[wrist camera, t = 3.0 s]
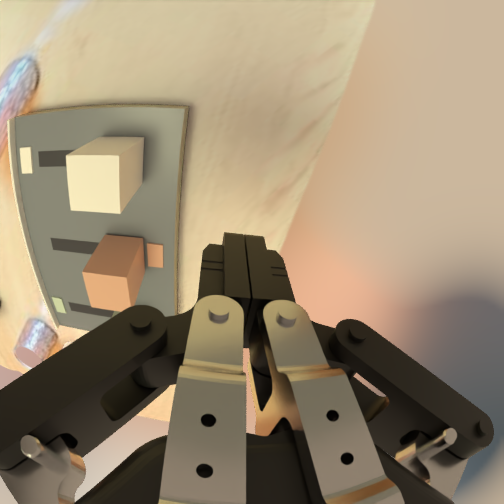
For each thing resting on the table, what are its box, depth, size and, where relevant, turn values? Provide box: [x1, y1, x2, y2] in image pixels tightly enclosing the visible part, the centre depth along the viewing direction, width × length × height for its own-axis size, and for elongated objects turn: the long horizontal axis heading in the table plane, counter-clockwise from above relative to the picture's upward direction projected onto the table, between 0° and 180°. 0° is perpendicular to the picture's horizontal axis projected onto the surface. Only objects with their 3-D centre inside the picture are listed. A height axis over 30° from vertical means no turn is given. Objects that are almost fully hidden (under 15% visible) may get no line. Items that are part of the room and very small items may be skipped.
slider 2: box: [82, 235, 145, 312], centre depth 21 cm, size 4×4×5 cm
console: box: [7, 104, 189, 331], centre depth 23 cm, size 25×16×3 cm, turn 170°
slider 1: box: [66, 137, 144, 214], centre depth 16 cm, size 4×4×5 cm
